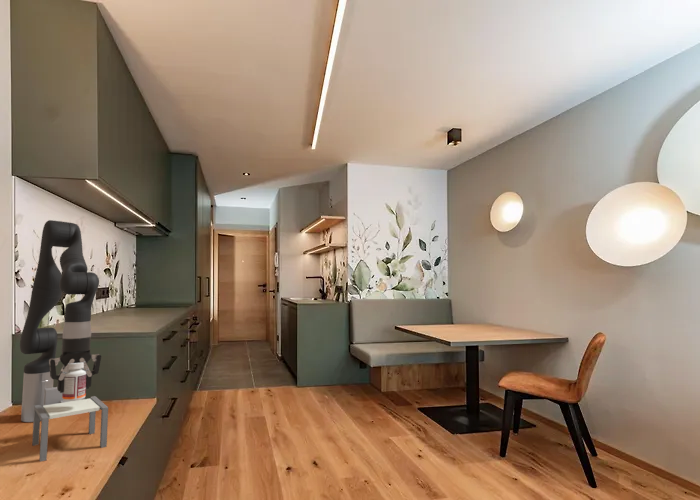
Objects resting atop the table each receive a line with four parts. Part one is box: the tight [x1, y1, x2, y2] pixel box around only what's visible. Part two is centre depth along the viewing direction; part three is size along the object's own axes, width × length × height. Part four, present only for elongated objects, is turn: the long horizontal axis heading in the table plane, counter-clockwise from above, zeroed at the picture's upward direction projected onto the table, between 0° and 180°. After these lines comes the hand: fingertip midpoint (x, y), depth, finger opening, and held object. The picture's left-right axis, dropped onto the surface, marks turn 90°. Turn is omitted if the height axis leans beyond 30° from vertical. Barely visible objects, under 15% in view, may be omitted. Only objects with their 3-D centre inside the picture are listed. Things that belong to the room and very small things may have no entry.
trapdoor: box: [43, 386, 101, 420], centre depth 139 cm, size 19×13×5 cm
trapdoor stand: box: [31, 395, 109, 463], centre depth 136 cm, size 17×17×12 cm
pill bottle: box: [62, 363, 87, 401], centre depth 135 cm, size 6×6×11 cm
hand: (74, 390), depth 135 cm, fingers closed on pill bottle, 6 cm apart
